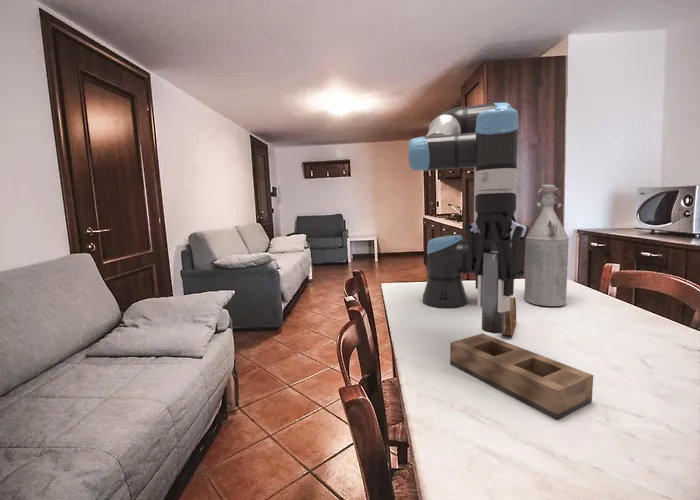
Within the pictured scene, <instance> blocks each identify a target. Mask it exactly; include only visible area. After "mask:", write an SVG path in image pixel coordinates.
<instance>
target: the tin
mask: <svg viewBox="0 0 700 500" xmlns="http://www.w3.org/2000/svg"><path fill="white" fill-rule="evenodd" d="M516 326H517V302H516V297H511V296H510V311H506V312H505V331H504V332H503V333H501V335H503V336H510V337H513V336H514V334H515V330H516Z"/></svg>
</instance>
